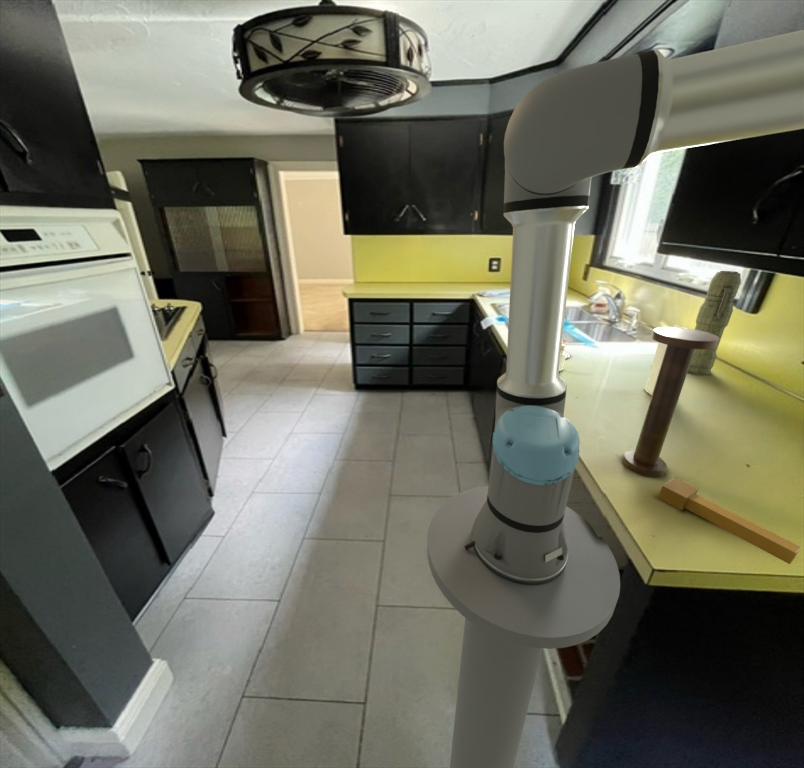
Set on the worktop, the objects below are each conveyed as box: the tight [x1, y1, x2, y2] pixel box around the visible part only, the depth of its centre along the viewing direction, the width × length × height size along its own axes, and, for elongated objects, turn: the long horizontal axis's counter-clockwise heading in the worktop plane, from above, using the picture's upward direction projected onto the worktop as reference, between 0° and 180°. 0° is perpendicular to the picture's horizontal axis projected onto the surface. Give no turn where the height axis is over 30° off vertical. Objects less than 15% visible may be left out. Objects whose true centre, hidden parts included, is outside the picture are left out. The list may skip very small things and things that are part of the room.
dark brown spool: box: [622, 326, 719, 478], centre depth 74 cm, size 10×10×30 cm
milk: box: [644, 323, 686, 396], centre depth 110 cm, size 6×6×22 cm
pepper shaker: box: [559, 344, 567, 372], centre depth 132 cm, size 4×4×10 cm
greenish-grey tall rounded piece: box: [687, 270, 742, 376], centre depth 126 cm, size 9×12×35 cm
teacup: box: [562, 338, 571, 360], centre depth 148 cm, size 12×12×6 cm
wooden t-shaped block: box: [658, 476, 802, 565], centre depth 64 cm, size 5×18×3 cm, turn 31°
